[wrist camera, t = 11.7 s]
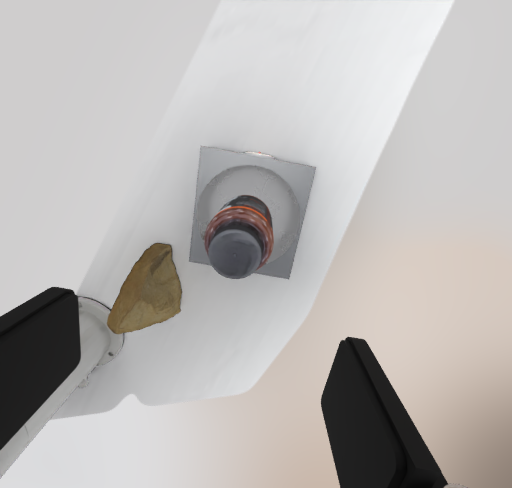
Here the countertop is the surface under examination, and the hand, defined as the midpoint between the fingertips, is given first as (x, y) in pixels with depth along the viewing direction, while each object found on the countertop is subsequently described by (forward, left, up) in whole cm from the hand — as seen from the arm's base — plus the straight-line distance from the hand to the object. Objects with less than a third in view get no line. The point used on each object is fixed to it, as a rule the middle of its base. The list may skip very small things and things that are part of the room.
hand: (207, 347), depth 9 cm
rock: (-12, +10, -26) cm, 31 cm away
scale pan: (0, 0, -23) cm, 23 cm away
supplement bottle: (0, 0, -21) cm, 21 cm away
